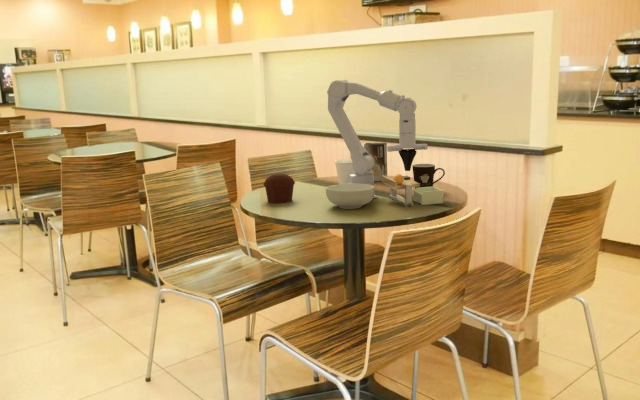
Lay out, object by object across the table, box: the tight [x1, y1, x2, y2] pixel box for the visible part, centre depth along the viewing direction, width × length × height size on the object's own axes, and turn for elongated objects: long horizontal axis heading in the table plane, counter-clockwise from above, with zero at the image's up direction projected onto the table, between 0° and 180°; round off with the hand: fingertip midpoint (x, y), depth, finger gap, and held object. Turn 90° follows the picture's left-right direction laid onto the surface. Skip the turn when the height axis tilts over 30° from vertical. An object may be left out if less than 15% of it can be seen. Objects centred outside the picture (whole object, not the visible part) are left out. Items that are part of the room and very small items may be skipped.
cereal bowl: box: [325, 183, 376, 210], centre depth 202 cm, size 17×17×7 cm
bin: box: [413, 186, 444, 206], centre depth 205 cm, size 8×8×4 cm
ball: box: [393, 173, 404, 185], centre depth 202 cm, size 4×4×4 cm
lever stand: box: [388, 177, 414, 207], centre depth 207 cm, size 3×17×7 cm, turn 12°
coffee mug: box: [411, 163, 446, 189], centre depth 224 cm, size 12×9×10 cm
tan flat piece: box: [381, 175, 420, 191], centre depth 207 cm, size 9×14×3 cm, turn 12°
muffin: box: [263, 172, 296, 204], centre depth 216 cm, size 12×11×10 cm
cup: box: [334, 158, 355, 184], centre depth 238 cm, size 10×10×11 cm
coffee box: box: [363, 142, 388, 182], centre depth 252 cm, size 9×6×16 cm
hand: (407, 170), depth 211 cm, fingers closed
